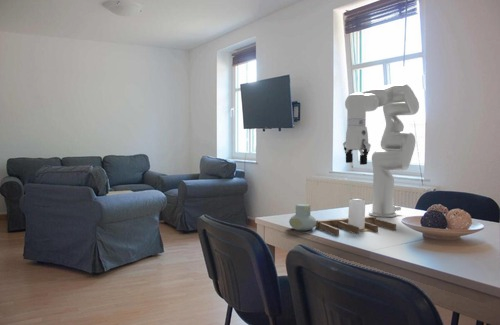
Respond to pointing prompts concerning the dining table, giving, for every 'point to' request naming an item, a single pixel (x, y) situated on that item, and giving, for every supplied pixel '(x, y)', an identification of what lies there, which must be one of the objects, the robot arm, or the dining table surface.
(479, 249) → the dining table surface
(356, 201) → the can
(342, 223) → the notch rack
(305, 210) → the air freshener
